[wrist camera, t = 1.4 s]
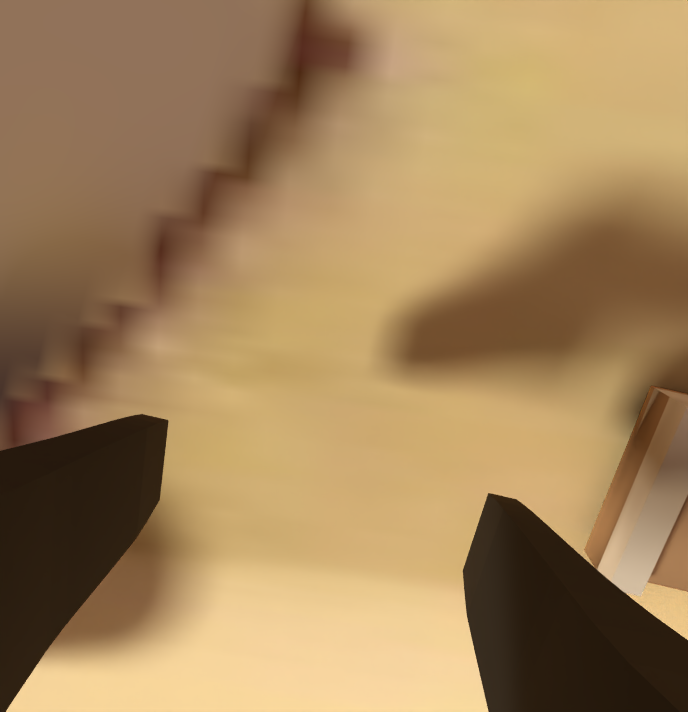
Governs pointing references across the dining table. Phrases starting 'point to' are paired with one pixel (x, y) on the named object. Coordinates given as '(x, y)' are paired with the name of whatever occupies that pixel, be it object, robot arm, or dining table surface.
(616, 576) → the brown slab
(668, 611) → the dining table surface
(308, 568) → the dining table surface
